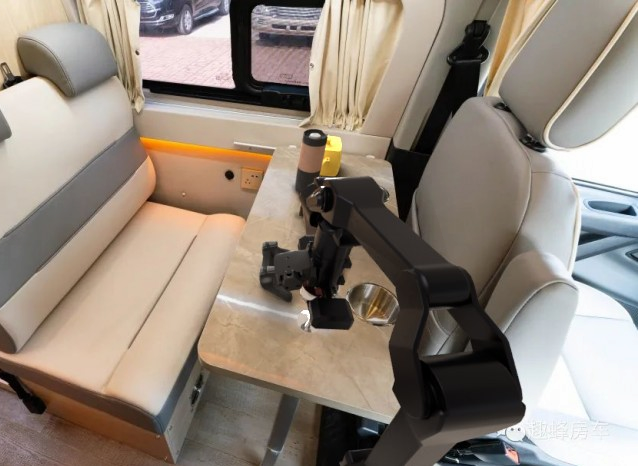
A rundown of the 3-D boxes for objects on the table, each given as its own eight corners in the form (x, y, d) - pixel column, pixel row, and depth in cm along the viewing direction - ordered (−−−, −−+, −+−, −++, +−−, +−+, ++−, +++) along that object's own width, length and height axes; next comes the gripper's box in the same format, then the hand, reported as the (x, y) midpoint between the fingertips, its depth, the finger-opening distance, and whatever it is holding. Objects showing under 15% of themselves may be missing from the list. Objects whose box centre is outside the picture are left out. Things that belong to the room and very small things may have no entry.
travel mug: (292, 192, 112) (301, 137, 99) (295, 180, 117) (304, 127, 104) (315, 196, 110) (327, 141, 97) (317, 184, 116) (329, 130, 102)
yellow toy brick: (339, 184, 116) (347, 154, 108) (303, 180, 118) (309, 150, 110) (337, 157, 130) (344, 128, 122) (305, 153, 132) (311, 125, 124)
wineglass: (321, 342, 62) (335, 305, 54) (287, 327, 64) (295, 289, 56) (330, 315, 66) (344, 276, 58) (298, 302, 69) (307, 263, 60)
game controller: (271, 260, 92) (256, 235, 86) (294, 255, 89) (280, 229, 84) (267, 309, 80) (250, 283, 75) (294, 304, 77) (278, 277, 72)
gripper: (275, 209, 59) (268, 268, 69) (285, 294, 45) (273, 351, 55) (338, 211, 58) (321, 270, 69) (368, 297, 44) (340, 354, 55)
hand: (313, 306), depth 62 cm, fingers closed on wineglass, 6 cm apart
